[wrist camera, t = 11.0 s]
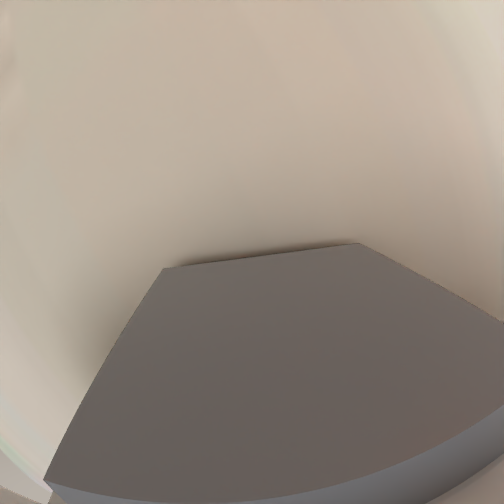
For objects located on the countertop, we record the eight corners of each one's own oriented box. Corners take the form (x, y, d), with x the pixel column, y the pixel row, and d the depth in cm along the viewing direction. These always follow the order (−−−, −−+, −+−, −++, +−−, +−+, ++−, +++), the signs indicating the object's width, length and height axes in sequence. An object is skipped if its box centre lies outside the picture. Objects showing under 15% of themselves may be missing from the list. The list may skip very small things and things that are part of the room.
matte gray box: (358, 242, 11) (556, 358, 2) (352, 390, 13) (433, 532, 4) (163, 268, 10) (43, 479, 2) (201, 415, 12) (196, 586, 4)
